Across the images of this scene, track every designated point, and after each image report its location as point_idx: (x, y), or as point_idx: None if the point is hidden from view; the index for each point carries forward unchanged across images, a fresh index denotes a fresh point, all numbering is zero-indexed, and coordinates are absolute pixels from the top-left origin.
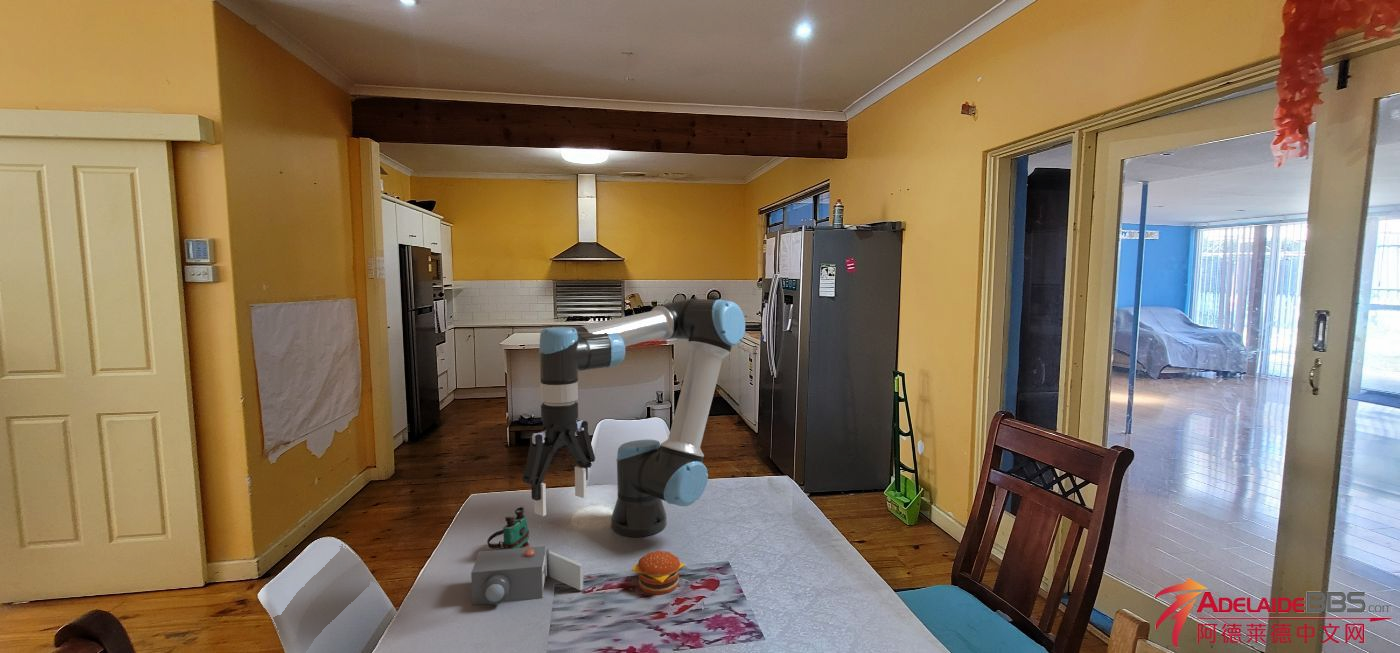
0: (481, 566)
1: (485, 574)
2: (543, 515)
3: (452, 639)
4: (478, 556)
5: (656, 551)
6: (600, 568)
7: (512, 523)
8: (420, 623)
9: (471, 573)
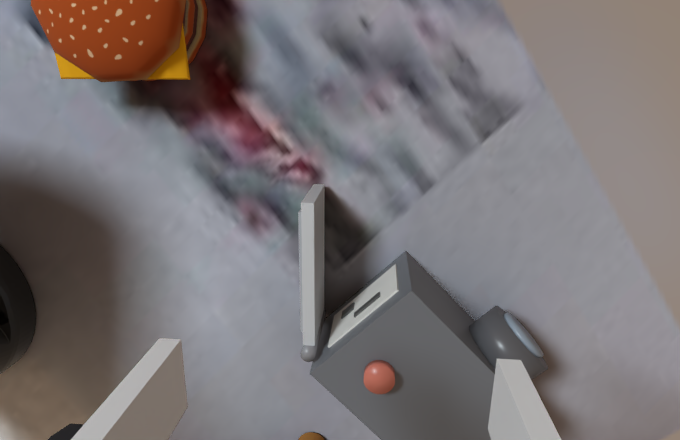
0: None
1: None
2: (519, 362)
3: (654, 299)
4: None
5: (69, 33)
6: (202, 223)
7: None
8: (639, 408)
9: None
